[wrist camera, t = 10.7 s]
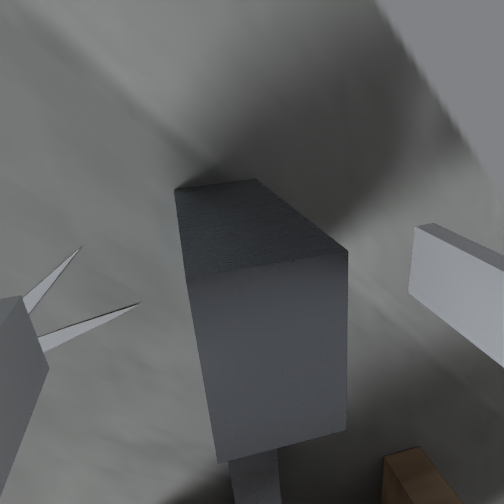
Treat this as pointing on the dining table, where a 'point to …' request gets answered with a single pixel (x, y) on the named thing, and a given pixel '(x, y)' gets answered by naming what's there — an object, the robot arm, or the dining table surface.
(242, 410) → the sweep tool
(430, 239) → the robot arm
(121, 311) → the scissors
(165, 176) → the dining table surface
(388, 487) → the cabinet
